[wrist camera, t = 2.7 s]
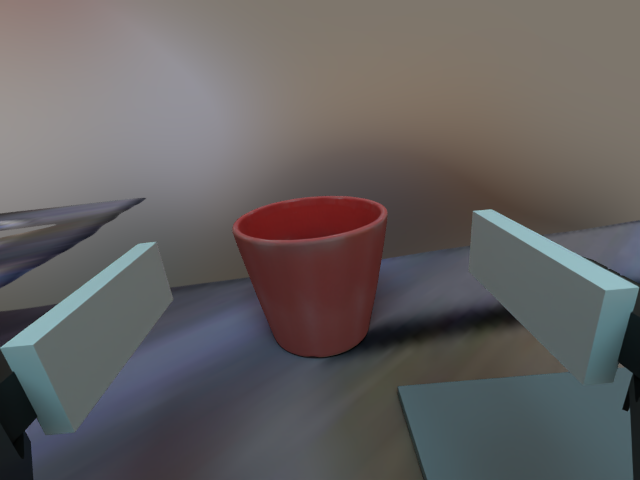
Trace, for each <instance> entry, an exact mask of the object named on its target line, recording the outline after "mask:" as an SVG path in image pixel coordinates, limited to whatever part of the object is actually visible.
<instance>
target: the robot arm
mask: <svg viewBox="0 0 640 480" xmlns="http://www.w3.org/2000/svg"><path fill="white" fill-rule="evenodd" d="M469 272H470V273H471V274H472V275H473V276H474V277H475V278H476V279H477V280H478V281H479V282H480V283H481V284H482V285H483V286H484V287H485V288H486V289H487V290H488V291H489V292H490V293H491V294H492V295H493V296H494V297H495V298H496V299H497V300H498V301H499V302H500V303H501V304H502V305H503V306H504V307H505V308H506V309H507V310H508V311H509V312H510V313H511V314H512V315H513V316H514V317H515V318H516V319H517V320H518V321H519V322H520V323H521V324H522V325H523V326H524V327H525V328H526V329H527V330H528V331H529V332H530V333H531V334H532V335H533V336H534V337H535V338H536V339H537V340H538V341H539V342H540V343H541V344H542V345H543V346H544V347H545V348H546V349H547V350H548V351H549V352H550V353H551V354H552V355H553V356H554V357H555V358H556V359H557V360H558V361H559V362H560V363H561V364H562V365H563V366H564V367H565V368H566V369H567V370H568V371H569V372H570V373H571V374H572V375H573V376H574V377H575V378H576V379H577V380H578V381H579V382H580V383H581V384H582V385H592V384H603V383H613V382H614V378H615V375H616V371H617V368H618V364H619V363H620V364H622V365H623V366H624V367H625V368H627V369H628V370H629V371H630V372H632V373H633V374H632V377H631V381H630V384H629V388H628V391H627V394H626V398H625V401H624V404H623V408H622V410H625V411H628V410H629V408H630V419H631V441H632V463H633V480H640V284H639V283H637V282H635V281H633V280H631V279H629V278H627V277H625V276H620V274H619V273H617V272H615V271H613V270H611V269H608V267H606V266H604V265H602V264H600V263H598V262H596V261H594V260H591V259H588V258H585V257H582V256H579V255H577V254H575V253H573V252H572V251H570V250H568V249H566V248H564V247H562V246H560V245H558V244H556V243H554V242H553V241H551V240H549V239H547V238H545V237H543V236H541V235H539V234H537V233H535V232H533V231H532V230H530V229H528V228H526V227H524V226H522V225H520V224H518V223H516V222H515V221H513V220H511V219H509V218H507V217H505V216H503V215H501V214H499V213H497V212H495V211H494V210H492V209H490V210H480V211H473V217H472V231H471V246H470V260H469ZM172 301H173V297H172V294H171V290H170V287H169V283H168V279H167V276H166V272H165V269H164V265H163V262H162V258H161V255H160V251H159V248H158V244H157V242H151V243H141V244H138V245H136V246H135V247H133V248H132V249H131V250H130V251H128V252H127V253H125V254H124V255H123V256H122V257H120V258H119V259H118V260H116V261H115V262H114V263H112V264H111V265H110V266H108V267H107V268H106V269H104V270H103V271H102V272H100V273H99V274H98V275H96V276H95V277H94V278H92V279H91V280H90V281H88V282H87V283H86V284H84V285H83V286H82V287H80V288H79V289H78V290H76V291H75V292H74V293H73V294H71V295H70V296H68V297H67V298H66V299H64V300H63V301H62V302H60V303H59V304H58V305H56V306H55V307H54V308H52V309H51V310H50V311H48V312H47V313H46V314H44V315H43V316H42V317H40V318H39V319H38V320H36V321H35V322H34V323H32V324H31V325H30V326H28V327H27V328H26V329H24V330H23V331H22V332H20V333H19V334H18V335H16V336H15V337H14V338H12V339H11V340H10V341H8V342H7V343H6V344H4V345H3V346H2V347H0V480H33V469H32V454H31V441H30V440H29V438H28V436H27V434H26V432H25V430H26V429H27V428H28V426H29V425H30V424H31V423H32V422H33V421H34V420H35V419H36V418H37V420H38V422H39V423H40V425H41V427H42V429H43V431H44V433H45V435H52V434H63V433H74V432H76V430H77V429H78V428H79V426H80V425H81V423H82V422H83V421H84V419H85V418H86V417H87V415H88V414H89V413H90V411H91V410H92V409H93V407H94V406H95V405H96V403H97V402H98V401H99V399H100V398H101V396H102V395H103V394H104V392H105V391H106V390H107V388H108V387H109V386H110V384H111V383H112V382H113V380H114V379H115V378H116V376H117V375H118V374H119V372H120V371H121V369H122V368H123V367H124V365H125V364H126V363H127V361H128V360H129V359H130V357H131V356H132V355H133V353H134V352H135V351H136V349H137V348H138V347H139V345H140V344H141V342H142V341H143V340H144V338H145V337H146V336H147V334H148V333H149V332H150V330H151V329H152V328H153V326H154V325H155V324H156V322H157V321H158V320H159V318H160V317H161V315H162V314H163V313H164V311H165V310H166V309H167V307H168V306H169V305H170V303H171V302H172Z"/></svg>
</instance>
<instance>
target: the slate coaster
mask: <svg viewBox="0 0 640 480" xmlns="http://www.w3.org/2000/svg"><path fill="white" fill-rule="evenodd" d="M632 374H633V373H632V372H630V371H629V370H628V369H627V368H617V371H616V375H615V378H614V382H613V383H603V384H592V385H582V384H581V383H580V382H579V381H578V380H577V379H576V378H575V377H574V376H573V375H572V374H571V373H570V372H565V373H553V374H541V375H529V376H517V377H504V378H492V379H480V380H468V381H456V382H444V383H432V384H420V385H408V386H398V397H399V400H400V403H401V407H402V410H403V413H404V416H405V420H406V423H407V426H408V429H409V433H410V436H411V439H412V442H413V446H414V449H415V452H416V455H417V459H418V462H419V465H420V468H421V472H422V475H423V478H424V480H633V463H632V441H631V419H630V408H629V410H628V411H625V410H622V408H623V404H624V401H625V398H626V394H627V391H628V388H629V384H630V381H631V377H632Z"/></svg>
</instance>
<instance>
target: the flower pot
mask: <svg viewBox="0 0 640 480" xmlns="http://www.w3.org/2000/svg"><path fill="white" fill-rule="evenodd" d="M387 214H388V213H387V210H386V208H385V207H384V206H383V205H381V204H379V203H377V202H375V201H371V200H368V199H363V198H357V197H347V196H317V197H306V198H298V199H292V200H286V201H281V202H276V203H272V204H269V205H266V206H263V207H260V208H257V209H255V210H252V211H250V212H248V213H246V214H244V215H243V216H241V217H240V218H239V219H237V221H236V222H235V223H234V225H233V234H234V237H235V240H236V243H237V246H238V248H239V251H240V253H241V256H242V259H243V261H244V264H245V266H246V269H247V271H248V274H249V276H250V279H251V282H252V284H253V287H254V289H255V292H256V294H257V297H258V299H259V301H260V304H261V306H262V309H263V311H264V314H265V316H266V318H267V321H268V323H269V325H270V328H271V330H272V332H273V335H274V337H275V339H276V341H277V342H278V344H279V345H280V346H281V347H282V348H284V349H285V350H287V351H288V352H291V353H293V354H296V355H300V356H305V357H309V356H316V357H327V356H333V355H337V354H340V353H343V352H345V351H348V350H350V349H351V348H353V347H354V346H356V345H357V344H359V343H360V342H361V341H362V340H363V339H364V337H365V336H366V334H367V332H368V329H369V323H370V318H371V313H372V308H373V304H374V299H375V294H376V289H377V283H378V277H379V271H380V265H381V258H382V252H383V246H384V238H385V231H386V224H387Z"/></svg>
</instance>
